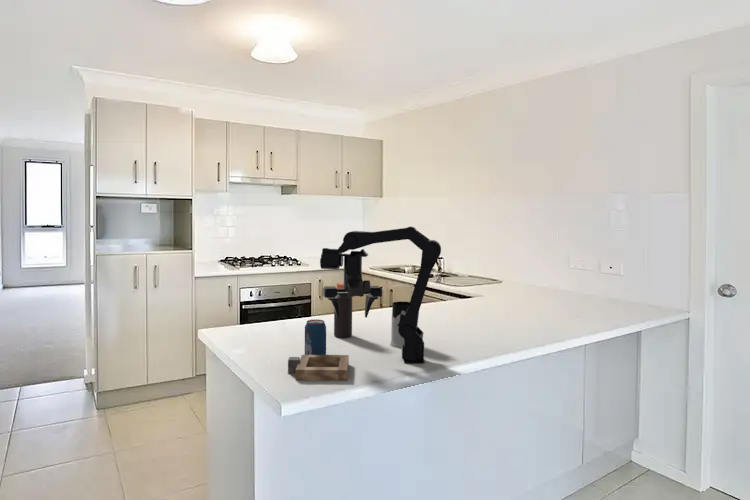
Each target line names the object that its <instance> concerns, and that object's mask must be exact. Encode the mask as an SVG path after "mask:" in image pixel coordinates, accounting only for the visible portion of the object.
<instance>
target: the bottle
mask: <svg viewBox="0 0 750 500" xmlns="http://www.w3.org/2000/svg"><path fill="white" fill-rule="evenodd" d="M336 288H337V289H344V282H339V283H336ZM346 292H348V291H346ZM336 297H337V298H338V309H339V318H337V316H336V312H335V309H334V308H333V322H334V323H333V336H334V337H336V338H338V339H340V338H341V339H346V338H347V339H348V338H351V337H352V335H353V297H350V296H349V295H348V294H343V295H337V296H336Z"/></svg>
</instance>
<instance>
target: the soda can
mask: <svg viewBox="0 0 750 500" xmlns="http://www.w3.org/2000/svg"><path fill="white" fill-rule="evenodd" d="M304 355H327V325H326V323H325V320H322V319H308V320H307V321H306V324H305V325H304Z"/></svg>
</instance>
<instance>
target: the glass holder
mask: <svg viewBox="0 0 750 500" xmlns="http://www.w3.org/2000/svg"><path fill="white" fill-rule="evenodd" d="M409 304H410V301H395V302H392V309H391V311H392V312H391V331H390V332H391V340H390V344H389V345H390V346H391V347H393V348H396V349H402V345H404V338H403V337H401V336H400V334H399V332H398V328H399V326H397V324H398V322H399V320H400V314H401V312H402V310H403V311H405V312H406V311H407V309H408V307H409Z"/></svg>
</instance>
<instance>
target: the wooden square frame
mask: <svg viewBox="0 0 750 500" xmlns="http://www.w3.org/2000/svg"><path fill="white" fill-rule="evenodd" d="M349 359H350V358H349V354H348V355H347V354H326V355H305V354H301V356H289V357H288V359H287V373H288V374H295V381H348V373H349V363H350V362H349Z"/></svg>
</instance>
